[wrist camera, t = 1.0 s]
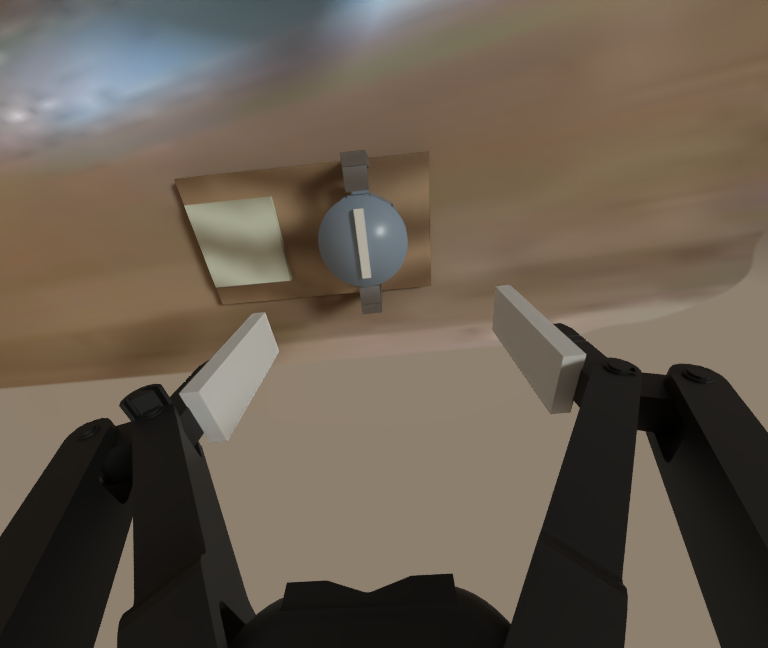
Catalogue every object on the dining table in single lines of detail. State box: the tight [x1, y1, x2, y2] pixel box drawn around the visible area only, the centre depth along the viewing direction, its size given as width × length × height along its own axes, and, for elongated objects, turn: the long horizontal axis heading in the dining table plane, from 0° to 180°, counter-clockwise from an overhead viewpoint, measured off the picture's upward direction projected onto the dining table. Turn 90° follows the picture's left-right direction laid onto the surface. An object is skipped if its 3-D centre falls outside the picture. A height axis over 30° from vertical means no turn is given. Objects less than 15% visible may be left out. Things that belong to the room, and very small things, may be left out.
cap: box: [318, 190, 408, 287], centre depth 27 cm, size 11×8×6 cm
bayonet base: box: [174, 150, 431, 314], centre depth 29 cm, size 14×26×7 cm, turn 95°
